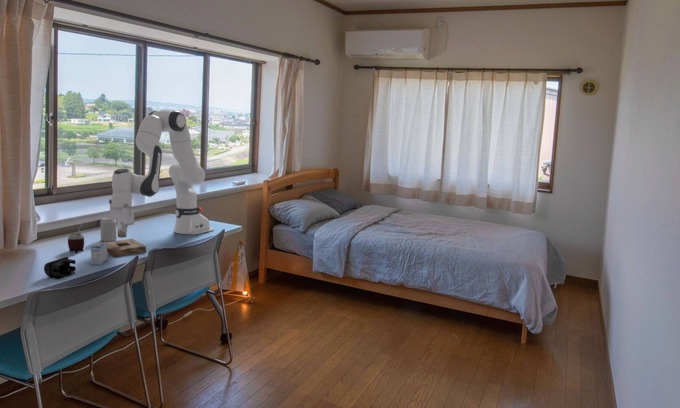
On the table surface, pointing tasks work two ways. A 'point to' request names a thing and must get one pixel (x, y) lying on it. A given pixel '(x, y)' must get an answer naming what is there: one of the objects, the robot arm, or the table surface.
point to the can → (108, 229)
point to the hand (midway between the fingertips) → (122, 230)
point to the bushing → (120, 232)
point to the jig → (125, 247)
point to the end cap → (60, 268)
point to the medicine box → (98, 253)
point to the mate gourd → (76, 241)
